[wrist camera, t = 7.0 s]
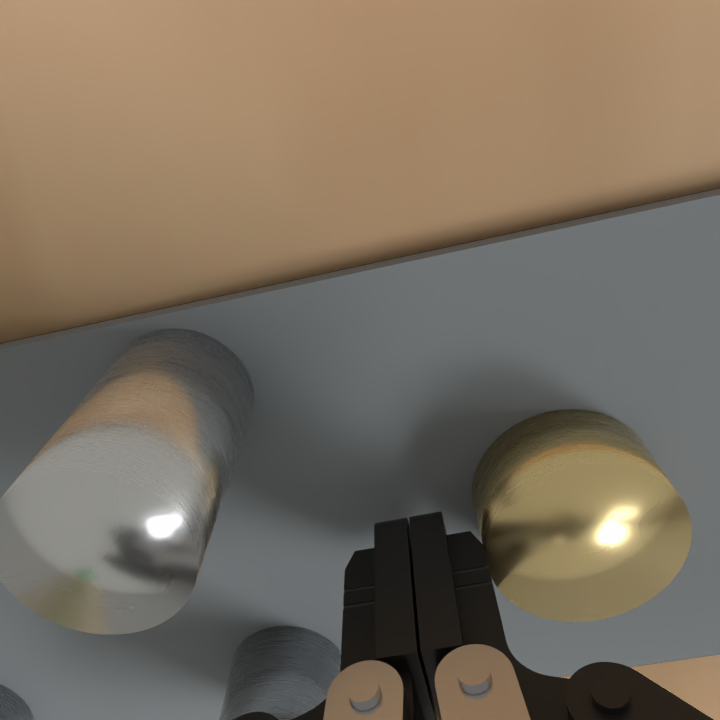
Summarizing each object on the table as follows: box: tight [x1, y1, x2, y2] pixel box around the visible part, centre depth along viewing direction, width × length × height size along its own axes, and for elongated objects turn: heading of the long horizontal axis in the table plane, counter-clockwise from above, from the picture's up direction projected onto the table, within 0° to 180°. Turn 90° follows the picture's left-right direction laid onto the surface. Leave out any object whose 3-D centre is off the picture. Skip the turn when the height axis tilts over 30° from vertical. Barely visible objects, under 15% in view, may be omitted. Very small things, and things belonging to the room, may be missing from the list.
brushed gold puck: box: [472, 409, 692, 622], centre depth 14 cm, size 4×4×2 cm
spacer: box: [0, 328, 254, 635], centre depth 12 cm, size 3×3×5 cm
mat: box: [0, 188, 720, 720], centre depth 16 cm, size 25×12×1 cm, turn 103°
